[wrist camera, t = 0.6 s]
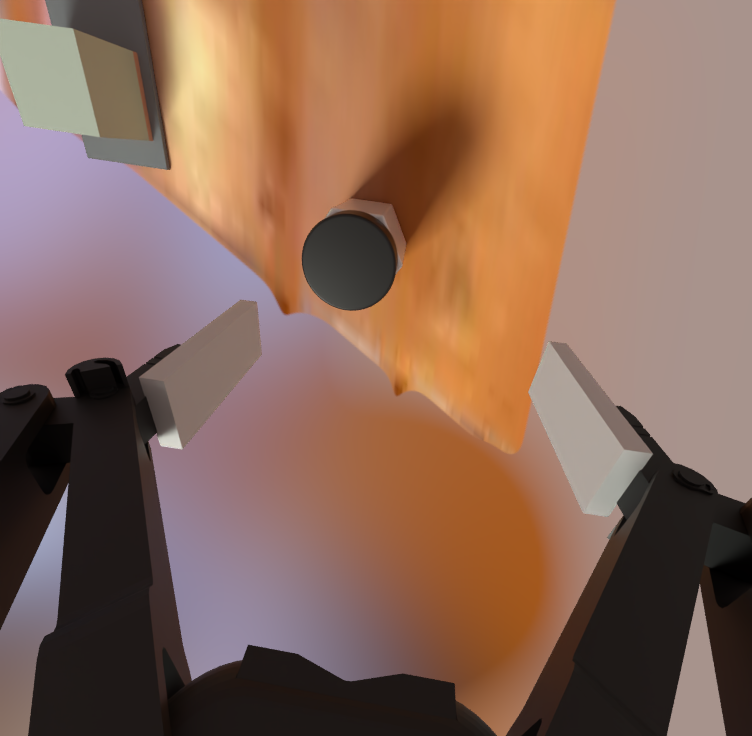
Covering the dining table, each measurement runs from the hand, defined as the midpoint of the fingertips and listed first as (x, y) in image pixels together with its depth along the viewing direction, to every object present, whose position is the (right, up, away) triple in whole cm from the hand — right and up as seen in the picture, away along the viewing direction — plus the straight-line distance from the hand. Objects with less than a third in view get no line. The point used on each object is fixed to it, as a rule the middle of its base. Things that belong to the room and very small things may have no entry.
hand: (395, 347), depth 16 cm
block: (-27, +26, +19) cm, 42 cm away
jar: (-2, +14, +23) cm, 27 cm away
